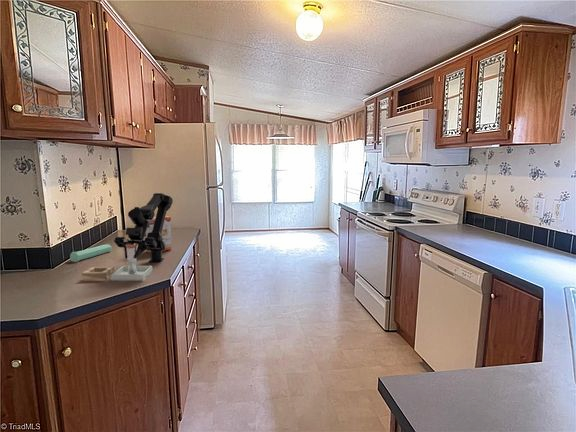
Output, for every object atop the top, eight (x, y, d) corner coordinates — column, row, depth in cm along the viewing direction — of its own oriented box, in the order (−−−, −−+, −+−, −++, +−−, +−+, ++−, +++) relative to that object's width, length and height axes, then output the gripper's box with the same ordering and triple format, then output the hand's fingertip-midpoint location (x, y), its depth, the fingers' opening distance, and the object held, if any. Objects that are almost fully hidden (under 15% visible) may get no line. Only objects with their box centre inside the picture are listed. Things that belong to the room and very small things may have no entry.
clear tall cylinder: (126, 272, 166) (124, 243, 164) (137, 270, 168) (136, 242, 166) (127, 275, 162) (126, 245, 160) (138, 273, 164) (137, 244, 162)
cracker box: (148, 253, 207) (146, 218, 204) (145, 251, 212) (144, 217, 209) (172, 250, 215) (170, 216, 212) (168, 248, 220) (167, 215, 217)
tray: (123, 271, 172) (123, 265, 171) (152, 271, 173) (152, 265, 172) (111, 281, 158) (110, 274, 157) (143, 281, 159) (142, 274, 158)
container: (107, 241, 211) (71, 250, 187) (114, 245, 210) (79, 255, 186) (104, 249, 212) (68, 259, 188) (112, 254, 211) (77, 264, 187)
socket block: (92, 273, 168) (92, 266, 167) (114, 273, 168) (114, 266, 168) (82, 280, 158) (81, 273, 157) (105, 280, 159) (104, 273, 158)
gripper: (114, 220, 166) (103, 248, 156) (153, 221, 165) (144, 249, 156) (123, 233, 175) (113, 260, 165) (160, 234, 174) (152, 261, 165)
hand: (130, 258), depth 163 cm, fingers closed on clear tall cylinder, 4 cm apart
